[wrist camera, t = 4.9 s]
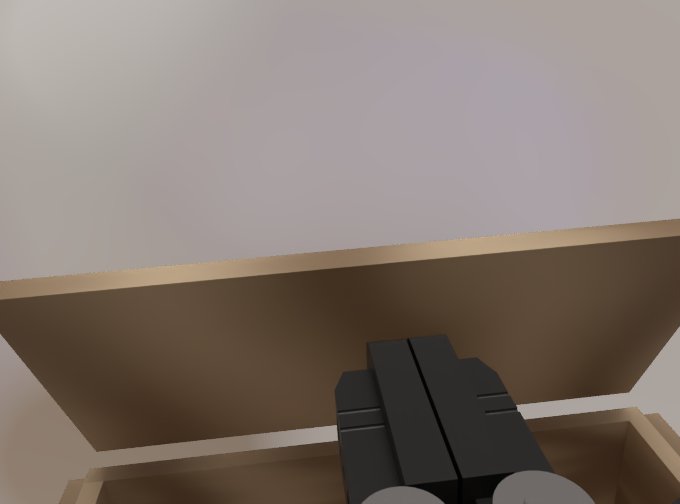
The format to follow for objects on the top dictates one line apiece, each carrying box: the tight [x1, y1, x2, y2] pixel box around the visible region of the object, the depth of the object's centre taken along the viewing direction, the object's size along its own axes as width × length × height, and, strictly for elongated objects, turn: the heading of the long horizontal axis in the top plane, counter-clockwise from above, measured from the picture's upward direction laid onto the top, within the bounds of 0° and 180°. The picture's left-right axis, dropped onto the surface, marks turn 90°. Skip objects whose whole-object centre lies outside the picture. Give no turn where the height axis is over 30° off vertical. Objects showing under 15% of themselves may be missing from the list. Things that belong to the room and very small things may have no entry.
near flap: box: [0, 219, 680, 452], centre depth 16 cm, size 17×8×1 cm
